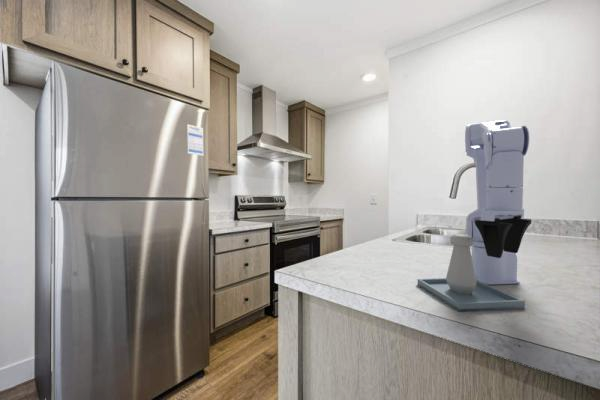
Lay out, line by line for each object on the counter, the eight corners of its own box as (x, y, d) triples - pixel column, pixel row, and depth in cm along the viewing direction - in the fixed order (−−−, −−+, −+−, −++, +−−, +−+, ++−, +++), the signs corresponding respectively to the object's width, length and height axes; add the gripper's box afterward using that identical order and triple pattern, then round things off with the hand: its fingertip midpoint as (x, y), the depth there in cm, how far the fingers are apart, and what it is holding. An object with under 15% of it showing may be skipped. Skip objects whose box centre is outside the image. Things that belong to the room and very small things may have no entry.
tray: (469, 282, 63) (469, 277, 63) (524, 308, 49) (524, 300, 49) (417, 285, 61) (417, 279, 61) (459, 311, 47) (459, 304, 47)
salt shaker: (480, 298, 52) (481, 237, 52) (450, 295, 54) (451, 236, 54) (470, 288, 58) (471, 233, 58) (442, 285, 60) (443, 232, 59)
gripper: (496, 188, 57) (495, 246, 57) (464, 188, 50) (462, 254, 50) (537, 188, 51) (535, 253, 51) (506, 187, 44) (505, 262, 44)
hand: (502, 254), depth 50 cm, fingers open, 7 cm apart
